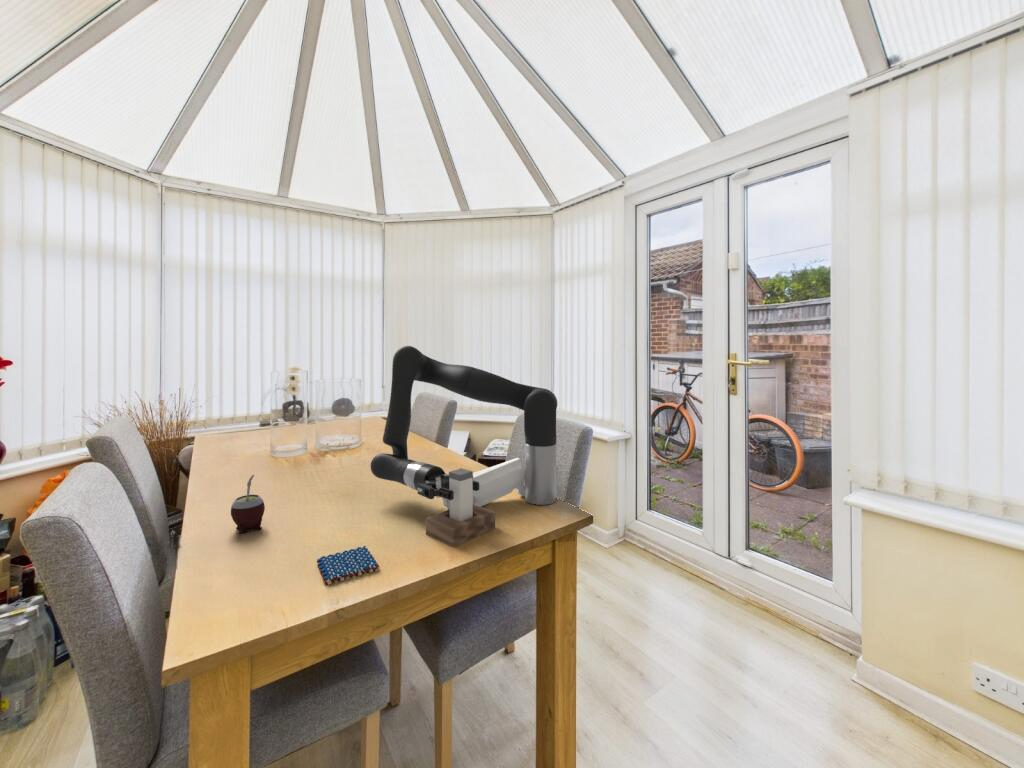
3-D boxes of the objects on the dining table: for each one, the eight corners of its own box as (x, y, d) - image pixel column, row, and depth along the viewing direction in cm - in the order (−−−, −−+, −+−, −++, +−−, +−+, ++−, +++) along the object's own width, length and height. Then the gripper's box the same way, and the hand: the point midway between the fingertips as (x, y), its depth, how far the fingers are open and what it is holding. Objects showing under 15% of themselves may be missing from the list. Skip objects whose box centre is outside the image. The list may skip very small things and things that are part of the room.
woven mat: (381, 572, 85) (381, 563, 85) (325, 589, 79) (324, 579, 79) (367, 552, 93) (367, 543, 93) (315, 565, 88) (315, 556, 87)
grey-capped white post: (461, 521, 106) (461, 468, 105) (472, 526, 103) (472, 471, 102) (449, 527, 103) (448, 471, 102) (460, 531, 100) (460, 475, 99)
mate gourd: (244, 523, 107) (241, 466, 106) (274, 523, 107) (272, 466, 106) (223, 536, 100) (220, 474, 99) (256, 536, 100) (253, 475, 98)
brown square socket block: (467, 516, 112) (467, 502, 112) (495, 527, 105) (495, 512, 105) (425, 534, 101) (425, 518, 101) (453, 547, 95) (453, 530, 94)
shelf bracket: (530, 499, 126) (523, 460, 124) (454, 532, 114) (445, 490, 112) (521, 493, 131) (514, 456, 128) (447, 525, 119) (438, 484, 117)
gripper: (401, 469, 106) (443, 483, 96) (444, 458, 117) (486, 469, 106) (402, 498, 107) (443, 514, 96) (444, 484, 118) (486, 498, 107)
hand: (465, 491), depth 101 cm, fingers open, 8 cm apart
